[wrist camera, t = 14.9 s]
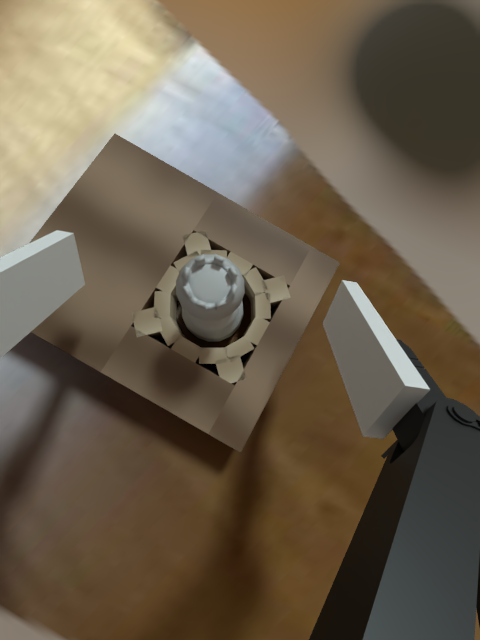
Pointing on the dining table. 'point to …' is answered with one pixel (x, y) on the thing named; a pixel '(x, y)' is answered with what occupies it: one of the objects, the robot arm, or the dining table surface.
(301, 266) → the socket board
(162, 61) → the dining table surface
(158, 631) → the dining table surface
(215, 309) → the rook chess piece
